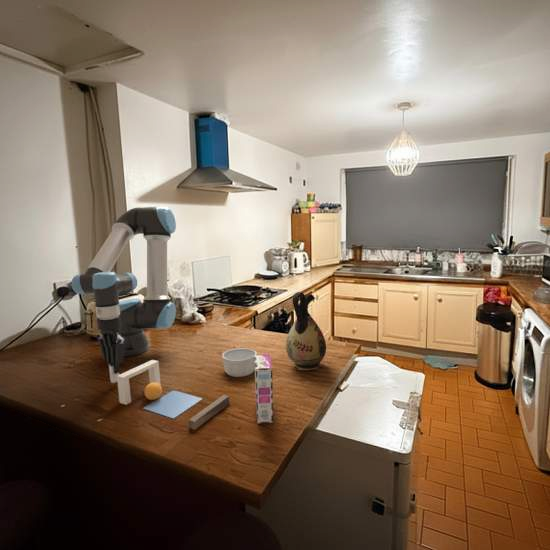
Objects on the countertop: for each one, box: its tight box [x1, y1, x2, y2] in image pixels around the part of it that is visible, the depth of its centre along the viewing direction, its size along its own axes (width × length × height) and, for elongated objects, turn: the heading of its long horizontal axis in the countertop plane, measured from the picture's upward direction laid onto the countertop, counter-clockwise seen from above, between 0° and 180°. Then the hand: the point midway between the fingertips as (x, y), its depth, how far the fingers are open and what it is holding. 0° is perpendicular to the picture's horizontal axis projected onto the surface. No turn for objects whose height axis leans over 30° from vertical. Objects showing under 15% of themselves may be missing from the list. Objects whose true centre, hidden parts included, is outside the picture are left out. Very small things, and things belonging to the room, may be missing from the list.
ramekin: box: [221, 347, 258, 378], centre depth 136 cm, size 13×13×7 cm
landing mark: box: [142, 389, 204, 420], centre depth 113 cm, size 13×13×1 cm
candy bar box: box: [254, 354, 274, 425], centre depth 105 cm, size 11×5×16 cm, turn 5°
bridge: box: [116, 359, 161, 406], centre depth 120 cm, size 3×14×9 cm, turn 151°
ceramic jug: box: [285, 291, 327, 371], centre depth 136 cm, size 17×15×30 cm
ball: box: [144, 382, 163, 401], centre depth 116 cm, size 6×6×6 cm
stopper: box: [188, 394, 230, 431], centre depth 106 cm, size 2×16×2 cm, turn 151°
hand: (115, 381), depth 126 cm, fingers closed
